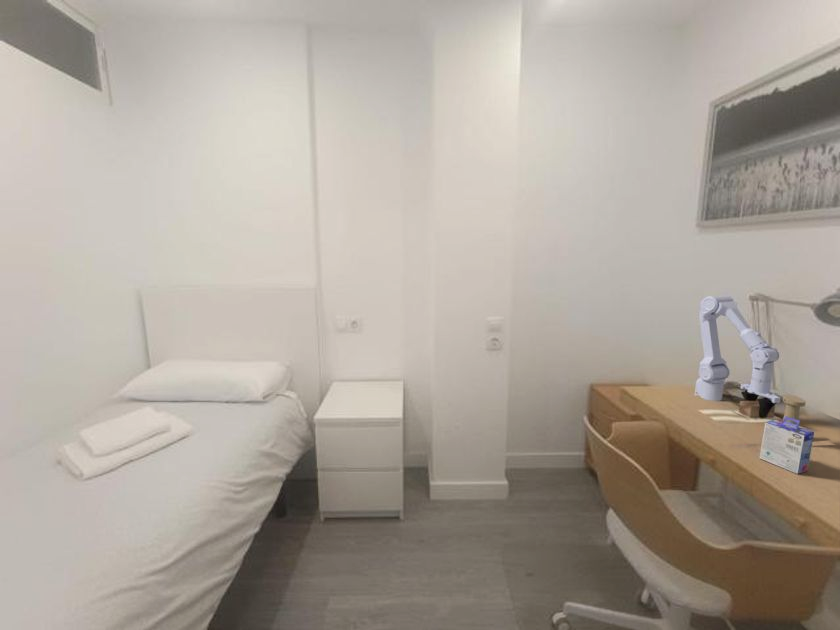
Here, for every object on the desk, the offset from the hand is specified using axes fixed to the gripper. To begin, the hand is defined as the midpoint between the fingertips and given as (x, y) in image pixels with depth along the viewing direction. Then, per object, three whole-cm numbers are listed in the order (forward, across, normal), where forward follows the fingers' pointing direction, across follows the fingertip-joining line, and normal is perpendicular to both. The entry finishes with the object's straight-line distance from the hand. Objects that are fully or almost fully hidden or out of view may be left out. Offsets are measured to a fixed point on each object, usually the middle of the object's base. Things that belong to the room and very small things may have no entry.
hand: (756, 413), depth 149 cm
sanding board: (+2, 0, -6) cm, 6 cm away
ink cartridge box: (+2, +30, -18) cm, 35 cm away
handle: (+2, +17, -4) cm, 18 cm away
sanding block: (0, 0, 0) cm, 0 cm away
